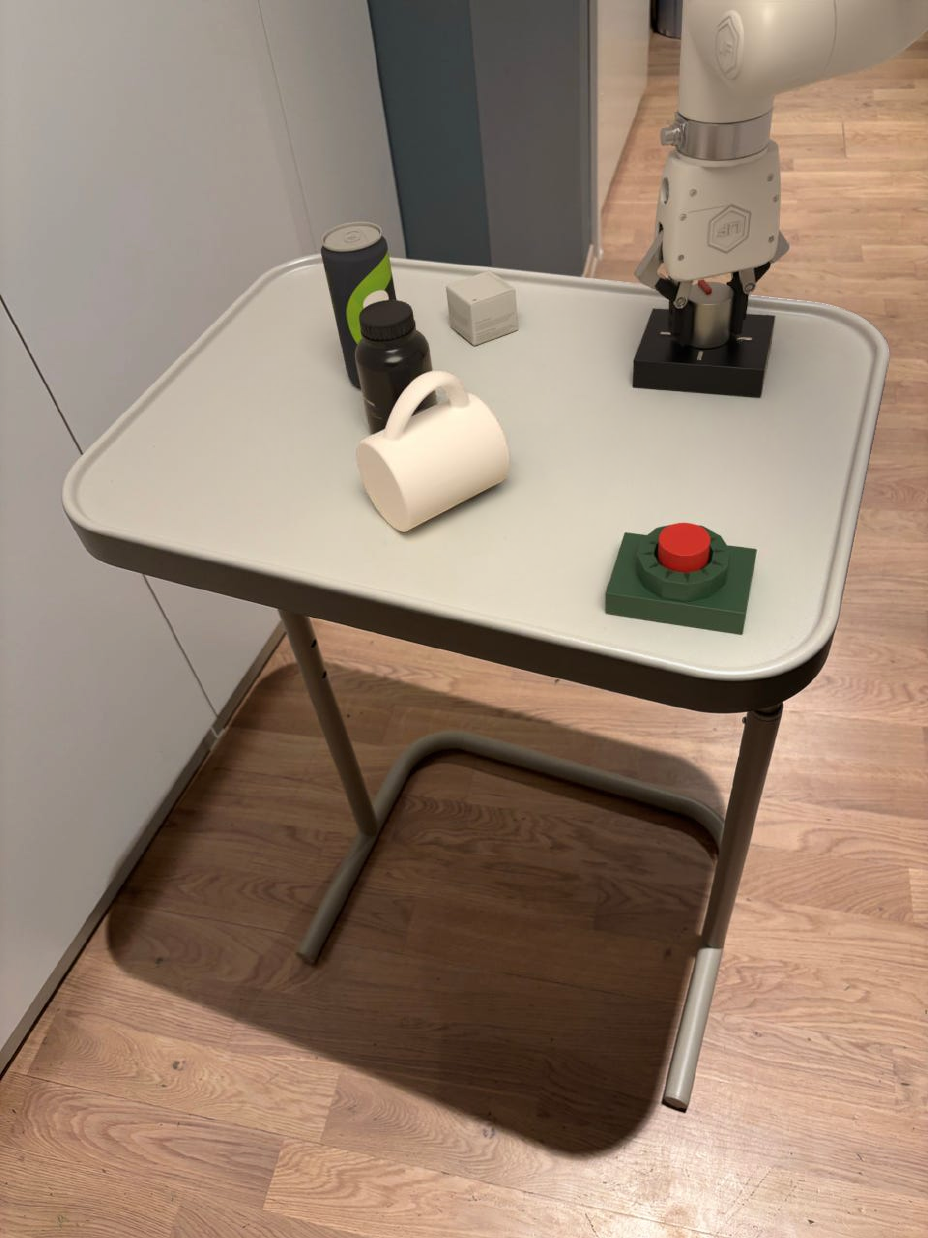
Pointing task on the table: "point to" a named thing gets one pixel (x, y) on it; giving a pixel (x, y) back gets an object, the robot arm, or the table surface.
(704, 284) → the dial
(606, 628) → the table surface
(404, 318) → the supplement bottle
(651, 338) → the dial panel
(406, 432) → the mug
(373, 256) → the beverage can
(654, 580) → the button box
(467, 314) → the small box
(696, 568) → the button
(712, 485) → the table surface
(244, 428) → the table surface
